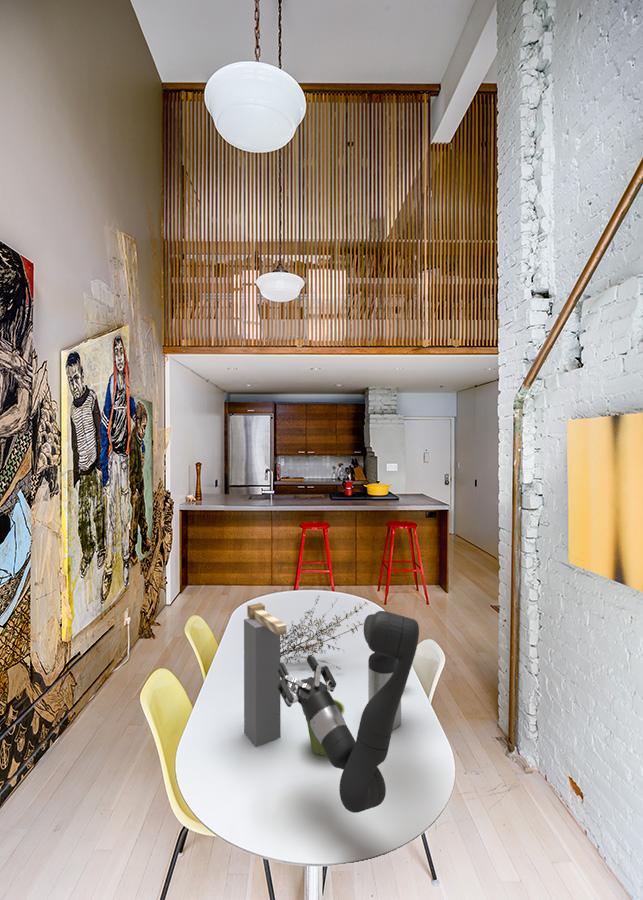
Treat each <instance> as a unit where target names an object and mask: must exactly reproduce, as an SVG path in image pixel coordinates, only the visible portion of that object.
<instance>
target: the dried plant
mask: <svg viewBox="0 0 643 900" xmlns="http://www.w3.org/2000/svg"><path fill="white" fill-rule="evenodd" d="M319 599H320V596H317V599H316V601H315V603H314V606H313V607H312V609H309V611H308V610H306V612H304V618H303V620H302V618H299V620H300V621H299V622H300V623H298V625H294V624H293V623H294V620H292V621H290V623H291V626H290V625H289V624H287V625H288V627H291V628H289V631H288V632H287V633H286V634H283V635H280V645H281V644H282V645H281V646H280V650H282V651H280V659H281V658H282V657H283V658H284V659H283V660H284V661H286V663H285V664H286V665H288V663H289V662H290V664H292V661H295V662H296V661H297V664H299V663H301V661H300V659H303V658H304V659H307V657H308V656H301V655H303V654H307V655H312V656H313V654H314V653H315V654H316V655H318V652H319V654H320V655H321V654H323V652H324V654H325V655H326V650H323V647H324V643H326V642H328V641H329V640H334V643H335V645H336V646H337V643H336V641H337V638H338V639H341V636H342V635H345V634H346V633H348V632H350V631H351V634H352V635H354V634H355V630H356V631H357V632H358V627H361V629H363V628H362V626H364V622H362V623H361V622H360V621H358V620H357V623H358V624H359V625H355V623H352V626H353V628H350V626H349V625H348V624H346V627H347V628H348V629H349V628H350V629H349V630H347V631H344V632H343V633H340V634H338V635H336V636H335V635H334V633H335V631H336V628H339V627H341V626H342V625H341V624H340V623H341V622H343V621H344V620H345V619H346V620H349V619H350V618H349V617H351V616H353V614H355V613H356V616H358V613H359V611H360V610H363V607H362V604H361V603H358V602H357V605H355V606H354V611H350V613H349V614H348V613H346V614H345V611H343V613H344V614H345V617H344V618H343V619H340V618H341V616H338V615H336V614H334V616H335V618H334V617H333V618H332V620H333V621H335V622H333V621H330V623H327V625H325V627H326V628H324V627H323V624H324V623H325V619H324V618H325V616H326V615H327V613H329V612H330V610H331V609H329V610H328V611H327V613H324V614H323V615H322V619H321V618H320V617H319V619H318V618H315V620H314V621H312V618H313V614H314V613H315V610H316V608H315V606H316V604H318V603H319V602H318V601H319ZM335 599H336V600H335V602H337V600H338V599H339V598H338V597H337V598H335ZM370 600H371V599H370ZM370 600H369V599H368V601H370ZM369 603H372V602H369ZM358 605H359V606H358ZM365 605H368V602H367V601H364V604H363V606H365ZM357 606H358V607H359V608H358V609H357ZM333 607H334V603H331V608H333ZM313 609H314V610H313ZM305 614H306V615H305ZM309 617H310V619H309ZM308 619H309V622H308V623H307V625H305V623H306V621H305V620H308ZM315 626H316V628H315ZM304 627H305V628H304ZM312 627H313V630H314V629H315V630H316V631H315V633H314V632H313V630H312ZM319 628H320V629H319ZM306 630H307V631H306ZM289 633H290V634H289ZM325 635H326V637H329V639H326V640H325ZM333 635H334V636H333ZM304 637H306V638H307V639H306V640H304V641H303V642H302V639H303V638H304ZM322 637H323V638H322ZM299 639H300V640H299ZM298 640H299V643H298ZM286 641H287V642H286ZM311 641H313V643H312V642H311ZM336 646H333V645H330V644H327V648H328V650H330V649H332V650H333V651H335V649H337V651H338V652H339V650H341V648H339V647H336ZM317 647H318V648H317ZM331 647H332V648H331ZM284 648H285V649H284ZM343 651H344V652H343V653H345V649H343ZM300 652H302V653H300ZM290 653H291V656H289V654H290ZM292 654H293V655H292ZM285 655H286V656H285ZM314 658H315V659H316V661H317V662H318V661H319V662H321V663H325V661H324V660H322V659H318V658H316V657H315V656H314ZM326 664H329V662H327V661H326ZM331 665H334V664H332V663H331ZM335 667H336V668H337V669H338V670H341V667H338V666H337V665H335Z"/></svg>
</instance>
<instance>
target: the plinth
mask: <svg viewBox="0 0 643 900" xmlns="http://www.w3.org/2000/svg"><path fill="white" fill-rule="evenodd" d="M280 641H281V635H279V636H278V635H277V634H275V633H274V632H272V631H271V630H269V629H268V628H267V627H265V626H264V625H262V624H261V623H259V622H258V621H256V620H255V619H252V620H251V619H250V618H249V617H247V618H244V619H243V702H244V703H243V720H244V721H243V727H244V728H243V733H244V734H245V736H246V737H247V738H248V740H249V741H250V742H251V743H252V744H253V745H254V747H255V748H257V747H259V746H262V745H266V744H267V743H270V742H273V741H274V740H278V739H280V738H281V694H280V692H279V690H278V688H277V687H278V685H279V682H280V680H281V677H280V675H279V673H278V668H279V665H280V663H281V658H280V652H281V649H280V647H281V644H280V643H281V642H280Z"/></svg>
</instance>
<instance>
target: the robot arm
mask: <svg viewBox="0 0 643 900" xmlns="http://www.w3.org/2000/svg"><path fill="white" fill-rule="evenodd" d="M363 623H364V624H363V636H364V640H365V642H366V643H367V645H368V648H369V650H370V651H372V652H373V653H371V654H370V655H369V656H368V662H367V663H368V667H367V668H368V671H367V672H368V674H367V675H368V681H367V682H368V686H367V687H368V701H367V704H366V705H365V707H364V709H363V711H362V713H361V716H360V717H361V718H360V722H359V726H358V729H357V734H356V735H357V736H356V739H355V737H354V736H353V735H352V732H351V731H350V729H349V727H348V725H347V723H346V720H345V718H344V716H343V715H342V714H341V712H340V710H339V709H338V707H337V705H336V703H335V702H334V700H333V699H334V698H333V697H332V695H331V693H332V692H334V690H335V689H336V687H337V682H336V680H335V678H334V676H333V675H332V673H331V670H330V669H329V667H328V665H324V666H321V665H320V664H319V663H318V661H317V659H316V658H315V656H314V655H313V654H312V655H311V654H307V656H306V657H307V658H306V662H307V664H308V666H309V667H310V669H311V671H312V672H313V677H312V676H309V677H308V678H303V679H301V680H300V679H298V678H296V677H295V678H293V677H292V676H290V674H289V672H288V670H287V667H286V666H285V663H284V662H280V665H279V668H278V673H279V675H280V682H279V685H278V687H277V688H278V690H279V692H280V697H282V699H283V701H284V703H285V704H286V706H287V707H289V708H291V707H292V705H293V704H296V703H297V702H298V703H299V704H300V706H301V708H302V712H304V713H303V715H304V714H305V715H304V716H306V717H305V719H306V718H307V720H308V722H309V724H310V726H311V728H312V730H313V732H314V734H315V736H316V737H317V739H318V740H319V742H320V743H321V745H322V747H323V749H324V751H325V753H326V757H327V759H328V761H329V762H330V764H331V765H332V767H333V768H336V769H340V770H342V773H341V776H340V779H339V787H338V788H339V798H340V801H341V803H342V805H343V807H344V808H345V809H346V810H347V811H348V812H350V813H356V814H357V813H362V812H364V811H367V810H369V809H373V808H375V807H378V806H380V805H381V804H382V803H383V802H384V800H385V797H386V792H387V787H386V781H385V779H384V776H383V774H382V771H381V770H380V768H378V766H380V765H381V764H382V763H383V762H385V761H386V759H387V756H388V752H389V749H390V745H391V744H390V743H391V738H392V733H393V731H394V729H396V728H398V727H399V726H400V725H402V697H403V694H404V691H405V688H406V685H407V682H408V679H409V676H410V672H411V669H412V665H413V662H414V659H415V656H416V652H417V647H418V644H419V637H420V628H419V627H420V626H419V623H418V621H417V620H416V619H413V618H411V617H407V616H405V615H402V614H401V615H400V614H397V613H394V612H393V613H392V612H390V611H386V610H385V611H384V610H379V611H376V612H375V613H371V614H368V615H367V616H366V617H365V619H364V622H363ZM321 676H322V678H323V680H324V682H325V683H323V681H321ZM296 686H297V687H296ZM330 692H331V693H330Z"/></svg>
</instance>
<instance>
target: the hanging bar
mask: <svg viewBox="0 0 643 900" xmlns="http://www.w3.org/2000/svg"><path fill="white" fill-rule="evenodd" d="M246 609H247V613H246V616H247V618H250V619H251V620H252V619H255V620H256V621H258V622H259V623H261V624H262V625H264V626H265V627H267V628H268V629H269V630H271V631H272V632H274V633H275V634H277V635H278V636H279V635H280V636H282V635H285V634H287V633H288V632H287V624H286V623H284V622H283V621H281V620H279V619H278V618H276V617H275V616H273V615H272V614H270V613H269V612H267V611H266V606H265V604H263V603H261V602H257V603H253V604H248V605H247V607H246Z"/></svg>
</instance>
